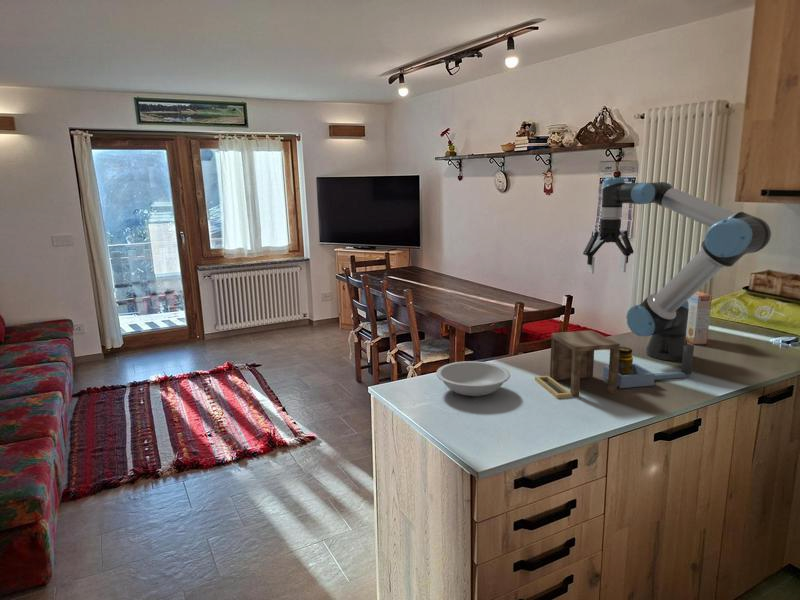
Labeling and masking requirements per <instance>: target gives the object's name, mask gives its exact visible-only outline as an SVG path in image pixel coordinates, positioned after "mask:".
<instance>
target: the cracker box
mask: <svg viewBox="0 0 800 600" xmlns="http://www.w3.org/2000/svg"><path fill="white" fill-rule="evenodd" d="M687 301H688V302H689V311H688V321H687V331H686V340H687V343H690V344H691V345H707V344H708V338H709V337H708V336H709V328H710V320H711V319H710V318H711V309H712V308H711V307H712V301H713V295H712V294H708V293H705V292H702V291H699V290H698V291H697V292H696V293H695V294H693V295H692V296H691V297H690V298H689V299H688V300H687Z"/></svg>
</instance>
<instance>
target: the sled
mask: <svg viewBox="0 0 800 600" xmlns="http://www.w3.org/2000/svg"><path fill="white" fill-rule="evenodd" d="M694 349H695V344H692V343H690V344H689V343H687V344H684V346H683V357H682V361H681V368H680V369H681V370H680V371H668V372H666V371H665V372H655V373H654V372H652V371H650V370H648V369H647V368H644V367H643V366H641V365H639V364H637V363H633V364H632V375H621V374H619V373H618V381H617V388H618V387H619V389H625V388H626V389H627V388H637V387H639V388H641V387H647V386H648V387H650V386H654V385H655V381H656V380H657V381H658V380H669V379H679V378H689V376H690V375H692V373H693V372H692V371H693V362H694V354H695V353H694V352H695V350H694ZM602 367H603V368H602V378H604V379H605V380H606V381H607V380H608V377H609V365H603V366H602Z"/></svg>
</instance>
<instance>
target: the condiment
mask: <svg viewBox="0 0 800 600" xmlns="http://www.w3.org/2000/svg"><path fill="white" fill-rule="evenodd" d="M633 359H634V358H633V349H632V348H631V347H626V346H620V350H619V365H618V373H619V374H621V375H632V364H634V363H633V362H634V360H633ZM603 383H605V384H607V385H608V380H607V379H606V380H604V381H603Z"/></svg>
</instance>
